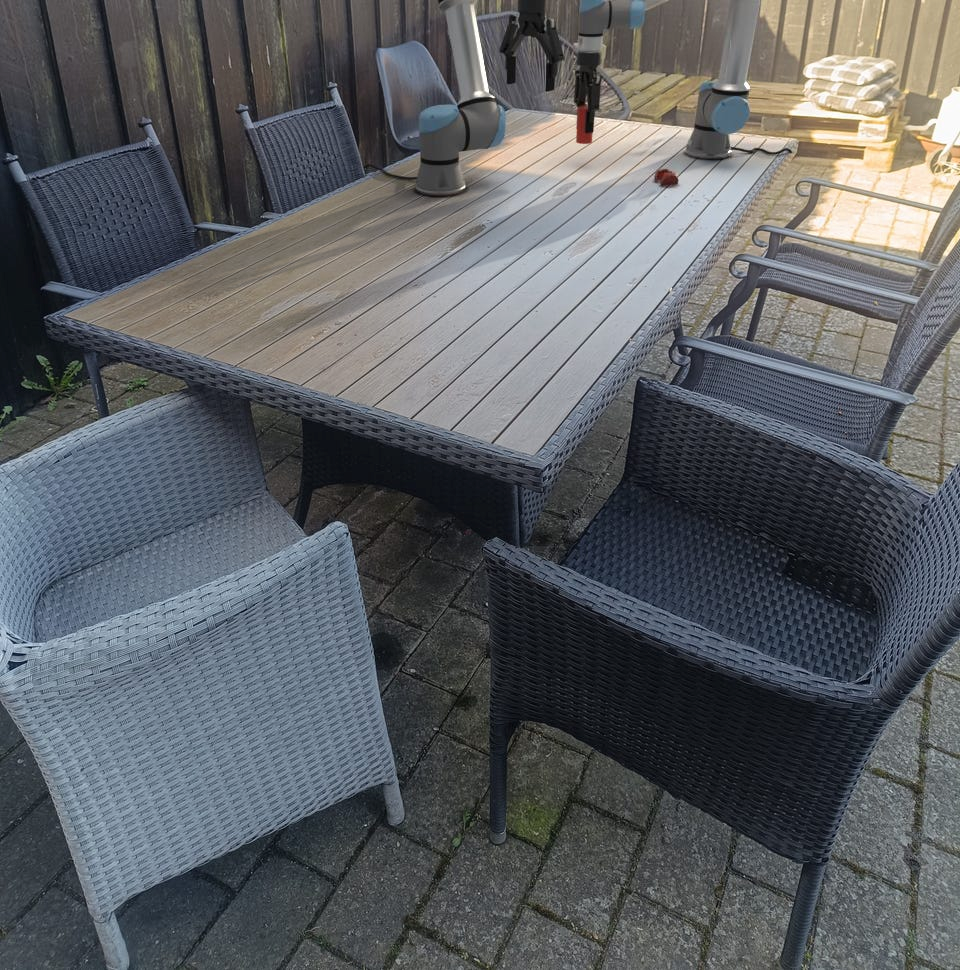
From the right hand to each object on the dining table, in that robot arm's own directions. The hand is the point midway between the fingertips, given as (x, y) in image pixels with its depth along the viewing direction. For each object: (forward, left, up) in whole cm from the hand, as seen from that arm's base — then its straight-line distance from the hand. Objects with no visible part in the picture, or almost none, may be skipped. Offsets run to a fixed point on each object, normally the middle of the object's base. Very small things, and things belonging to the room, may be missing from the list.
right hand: (584, 130), depth 273 cm
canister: (0, 0, -4) cm, 4 cm away
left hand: (+26, +45, +22) cm, 56 cm away
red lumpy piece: (-22, +22, -11) cm, 33 cm away
